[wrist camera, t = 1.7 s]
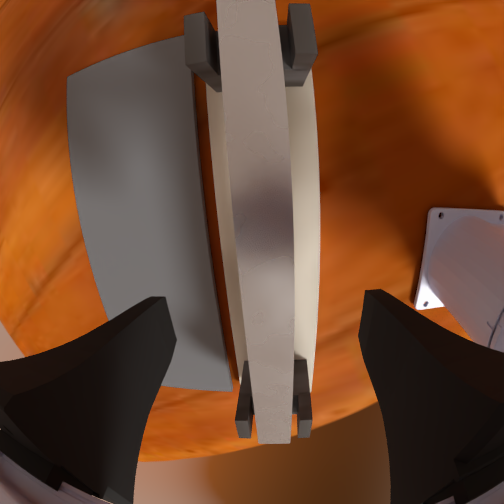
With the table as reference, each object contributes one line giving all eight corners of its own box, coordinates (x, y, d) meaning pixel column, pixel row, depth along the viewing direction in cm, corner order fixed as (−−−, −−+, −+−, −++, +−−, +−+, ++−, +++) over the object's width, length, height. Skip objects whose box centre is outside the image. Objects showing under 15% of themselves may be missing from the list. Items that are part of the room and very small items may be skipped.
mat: (191, 37, 13) (189, 34, 13) (232, 386, 23) (232, 391, 23) (71, 78, 14) (67, 76, 14) (137, 377, 24) (135, 381, 24)
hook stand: (303, 32, 13) (318, -26, 6) (310, 382, 22) (315, 447, 16) (207, 40, 13) (170, -11, 7) (243, 383, 23) (233, 448, 16)
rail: (273, 12, 9) (273, -11, 7) (289, 419, 18) (290, 443, 16) (225, 16, 9) (216, -5, 7) (260, 420, 18) (258, 443, 16)
